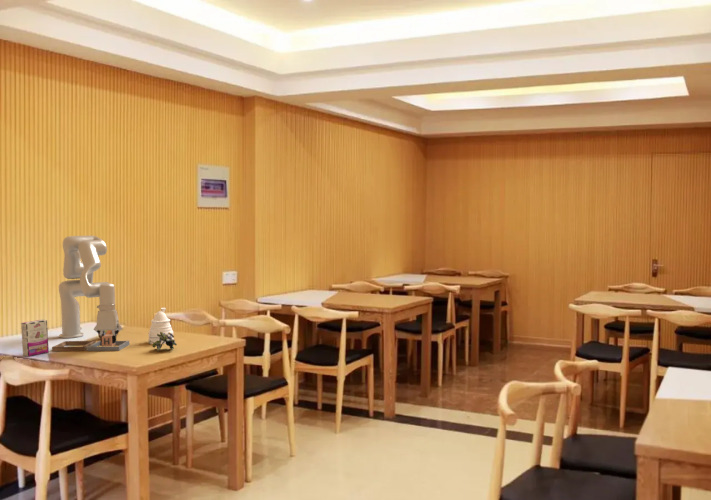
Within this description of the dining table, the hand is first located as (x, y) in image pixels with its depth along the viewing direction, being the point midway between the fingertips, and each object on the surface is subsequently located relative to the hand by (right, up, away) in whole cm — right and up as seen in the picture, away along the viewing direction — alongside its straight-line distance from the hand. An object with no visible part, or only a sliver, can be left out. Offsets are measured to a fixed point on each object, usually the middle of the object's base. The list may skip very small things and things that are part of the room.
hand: (108, 342), depth 349 cm
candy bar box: (-31, -4, -14) cm, 34 cm away
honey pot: (+23, -2, +14) cm, 27 cm away
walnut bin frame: (-18, -3, +1) cm, 18 cm away
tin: (-10, -1, +28) cm, 30 cm away
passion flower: (+31, -3, -8) cm, 32 cm away
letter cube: (0, -1, 0) cm, 1 cm away
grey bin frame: (0, -3, 0) cm, 3 cm away
